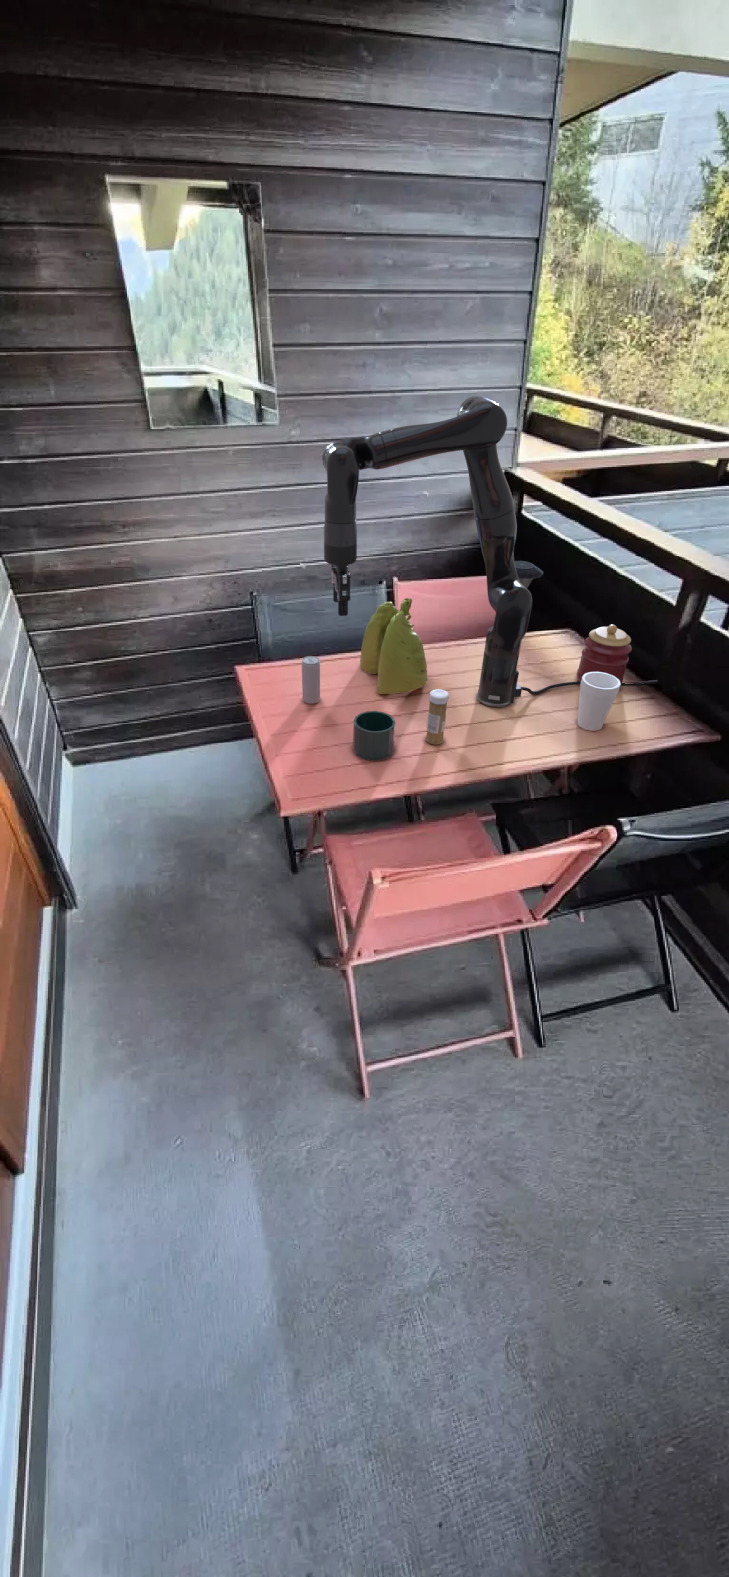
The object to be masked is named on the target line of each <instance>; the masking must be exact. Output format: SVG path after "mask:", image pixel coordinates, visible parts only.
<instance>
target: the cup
mask: <svg viewBox="0 0 729 1577" xmlns="http://www.w3.org/2000/svg"><path fill="white" fill-rule="evenodd" d="M395 734H396V720H395V717H393V716H392V715H391V714H389V713H386V712H384V711H378V710H370V711H369V710H367V711H364V712H360V713H358V714H357V715H355V716H354V719H353V733H352V748H353V753H354V754H355V756H357V757H359V758H360V759H363V760H366V761H373V762H377V761H383V760H387V759H389V758H390V757H391V756H392V755H393V753H394V749H395V738H396V735H395Z"/></svg>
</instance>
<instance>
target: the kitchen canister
mask: <svg viewBox="0 0 729 1577" xmlns="http://www.w3.org/2000/svg"><path fill="white" fill-rule="evenodd" d="M631 642H632V638H631V636H630V635H628V634H627V633H626V632H625V631H624V630H622V629H620V628H618V627H617V625H615V624H609V625H608V626H600V627H597V628H595V629H592V630H591V631H589V634H588V636H587V637H585V639H584V641H583V643H584V648H583V649H582V650H581V656H580V660H579V665H578V668H577V670H576V681H580V682H581V680H582V677H583V675H584V674H586V673H589V672H603V673H607V674H610V675H613V676H615V677H616V678H617V679H619V681H620V683H621V684H622V682H624V675H625V672H626V668H627V665H628V663H629V661H630V657H629V654H630V653H631V652H632V650H633V647H632V645H631V644H630V643H631Z"/></svg>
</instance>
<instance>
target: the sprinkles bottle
mask: <svg viewBox="0 0 729 1577" xmlns="http://www.w3.org/2000/svg"><path fill="white" fill-rule="evenodd" d="M449 695H450V694H449V692H448V691H446V690H445V689H441V688H440V689H439V688H437V689H432V690H431V691H430V692H429V696H428V699H429V700H428V701H429V704H428V710H427V712H428V713H427V721H426V722H427V723H426V736H425V741H426V742H427V743H429V744H430V745H441V744H442V743H443V742H444V739H445V738H444V734H445V728H446V718H447V707H448V702H449Z"/></svg>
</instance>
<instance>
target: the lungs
mask: <svg viewBox="0 0 729 1577" xmlns="http://www.w3.org/2000/svg"><path fill="white" fill-rule="evenodd" d="M412 603H413V599H412V598H411V597H410V598H409V597H405V598H404V599H403V600H402V601H401V603H400V606H399V607H400V608H399V609H398V608H397V607H396V606H395V605H394V604H393V602H392V601H385V602H384V603H382V604H380V605H378V606H377V608H376V609H375V612H374V614H372V615H371V617H370V620H369V622H368V623H367V625H366V627H365V630H364V634H363V638H362V645H361V647H360V657H359V668H360V669H361V670H362V671H365V673H368V674H372V675H374V674H375V675H376V674H377V682H376V683H377V684H376V686H377V694H379V695H391V694H403V693H408V692H412V691H416V690H418V689H420V688H422V687H426V685H427V682H428V669H427V668H428V664H427V659H426V653H425V649H424V645H423V642H422V639H421V637H420V636H419V635H418V634H417V633H416V632H415V630H414V628H413V627H414V626H415V624H412V623H411V621H410V620H411V619H412V614H411V613H410V610H411V608H412Z"/></svg>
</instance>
